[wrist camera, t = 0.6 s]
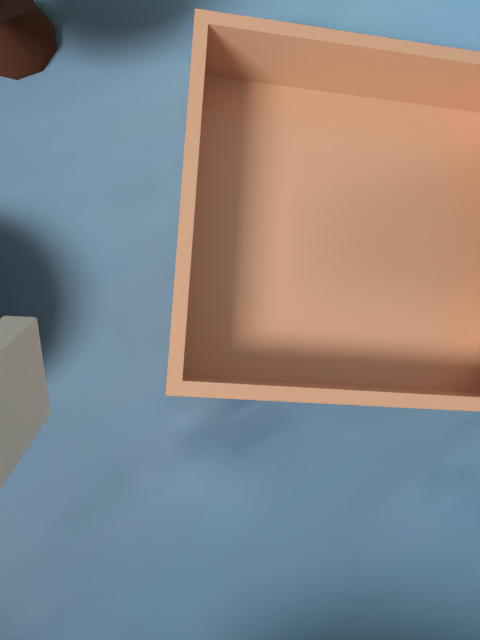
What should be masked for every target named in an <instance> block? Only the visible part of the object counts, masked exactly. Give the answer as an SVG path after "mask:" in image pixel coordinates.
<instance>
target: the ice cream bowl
mask: <svg viewBox="0 0 480 640" xmlns="http://www.w3.org/2000/svg"><path fill="white" fill-rule="evenodd" d="M56 50H57V49H56V40H55V30H54V24H53V23H52V22H51V21H50V20H49V19H48V18H47V17H46V16H45V14H44V13H43V12H42V11H41V10H40V9H39V8H38V7H37V6H36V5H35V4H34V3H33V0H0V76H3V77H7V78H11V79H15V80H18V79H21V78H24V77H26V76H29V75H32V74H35V73H38V72H41V71H43V69H44V68H45V66H46V65H47V63H48V62H49V60H50V59H51V57H52V56H53V54H54V53H55V51H56Z"/></svg>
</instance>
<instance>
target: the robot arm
mask: <svg viewBox="0 0 480 640" xmlns="http://www.w3.org/2000/svg"><path fill="white" fill-rule="evenodd" d="M50 413H51V412H50V405H49V398H48V391H47V384H46V377H45V370H44V363H43V357H42V350H41V343H40V336H39V329H38V322H37V317H21V316H3V317H2V318H1V319H0V488H1V487H2V485H3V484H4V482H5V481H6V479H7V478H8V476H9V475H10V473H11V472H12V470H13V469H14V467H15V466H16V464H17V463H18V461H19V460H20V458H21V457H22V455H23V454H24V452H25V451H26V449H27V448H28V446H29V445H30V443H31V442H32V440H33V439H34V437H35V436H36V434H37V433H38V431H39V430H40V428H41V427H42V425H43V424H44V422H45V421H46V419H47V418H48V416H49V415H50Z"/></svg>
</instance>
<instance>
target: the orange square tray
mask: <svg viewBox="0 0 480 640" xmlns="http://www.w3.org/2000/svg"><path fill="white" fill-rule="evenodd" d="M166 395H168V396H187V397H207V398H227V399H246V400H266V401H285V402H305V403H324V404H344V405H364V406H383V407H403V408H422V409H442V410H461V411H480V52H478V51H471V50H464V49H458V48H451V47H445V46H438V45H432V44H425V43H419V42H412V41H406V40H399V39H392V38H386V37H379V36H373V35H366V34H360V33H353V32H347V31H340V30H334V29H327V28H320V27H314V26H307V25H301V24H294V23H288V22H281V21H275V20H268V19H261V18H255V17H248V16H242V15H235V14H229V13H222V12H216V11H209V10H203V9H196V8H195V15H194V28H193V41H192V54H191V68H190V81H189V94H188V107H187V121H186V134H185V147H184V160H183V173H182V187H181V200H180V213H179V226H178V240H177V253H176V266H175V279H174V292H173V306H172V319H171V332H170V345H169V359H168V372H167V385H166Z"/></svg>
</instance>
